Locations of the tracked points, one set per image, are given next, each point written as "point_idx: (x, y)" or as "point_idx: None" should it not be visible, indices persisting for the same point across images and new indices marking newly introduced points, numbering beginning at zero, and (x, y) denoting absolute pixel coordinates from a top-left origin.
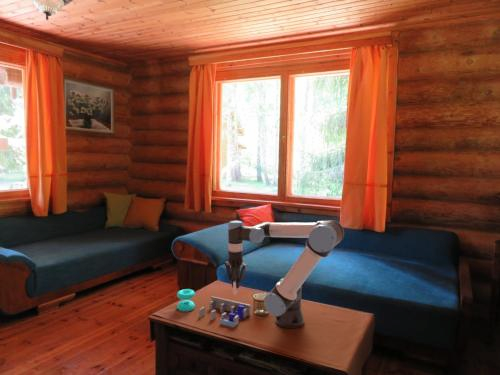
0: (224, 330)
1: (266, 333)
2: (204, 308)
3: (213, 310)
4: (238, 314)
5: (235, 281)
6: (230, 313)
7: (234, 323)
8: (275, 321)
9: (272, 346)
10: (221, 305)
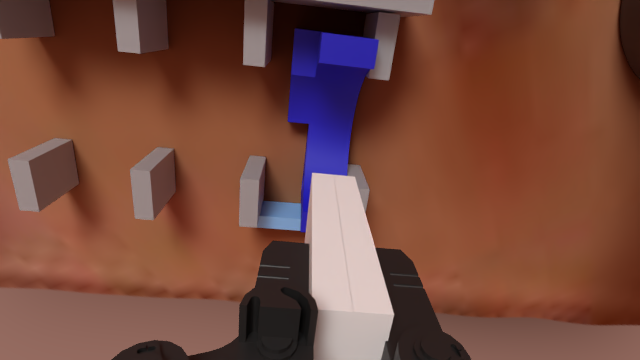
0: None
1: (557, 207)
2: (36, 159)
3: (138, 186)
4: (330, 90)
5: (329, 353)
6: None
7: None
8: (621, 35)
9: (593, 303)
10: (131, 52)
